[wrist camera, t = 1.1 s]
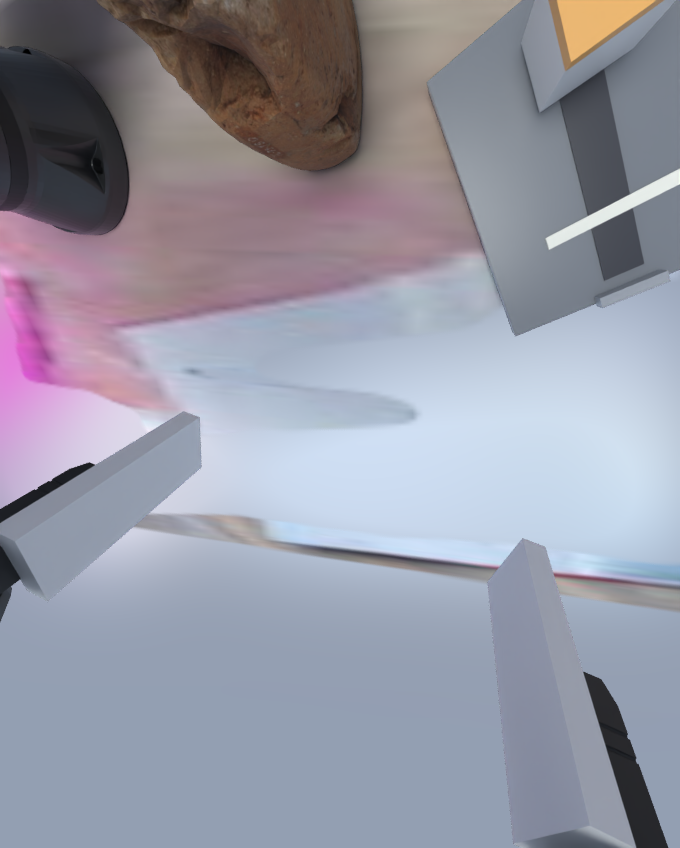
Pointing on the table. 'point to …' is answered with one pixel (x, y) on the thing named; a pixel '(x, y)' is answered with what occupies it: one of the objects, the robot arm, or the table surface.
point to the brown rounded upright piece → (263, 69)
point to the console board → (567, 170)
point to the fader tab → (581, 40)
